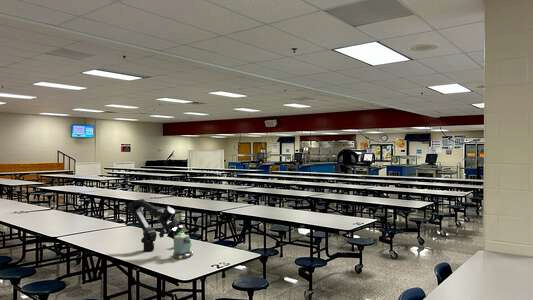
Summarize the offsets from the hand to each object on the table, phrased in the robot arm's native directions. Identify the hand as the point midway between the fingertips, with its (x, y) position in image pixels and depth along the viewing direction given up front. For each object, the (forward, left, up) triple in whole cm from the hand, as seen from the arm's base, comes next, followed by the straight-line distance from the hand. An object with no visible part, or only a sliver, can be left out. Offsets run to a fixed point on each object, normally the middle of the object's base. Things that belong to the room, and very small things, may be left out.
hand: (178, 240), depth 248 cm
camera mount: (0, +23, -11) cm, 25 cm away
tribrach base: (+3, -2, -10) cm, 11 cm away
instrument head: (+4, -3, -7) cm, 9 cm away
